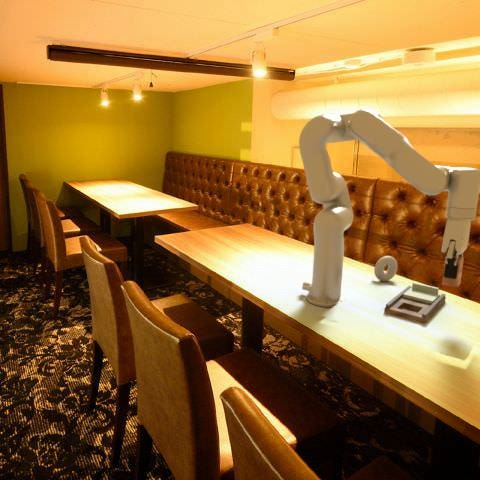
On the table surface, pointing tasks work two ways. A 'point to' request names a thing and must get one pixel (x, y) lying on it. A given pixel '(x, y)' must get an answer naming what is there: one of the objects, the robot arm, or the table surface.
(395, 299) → the puzzle board
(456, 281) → the block
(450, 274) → the robot arm
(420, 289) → the lid
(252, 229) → the table surface
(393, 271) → the donut
